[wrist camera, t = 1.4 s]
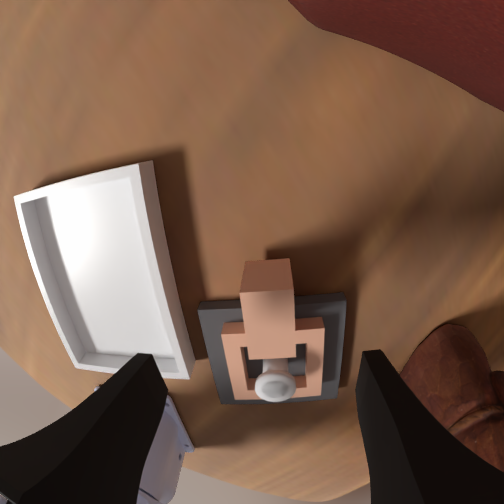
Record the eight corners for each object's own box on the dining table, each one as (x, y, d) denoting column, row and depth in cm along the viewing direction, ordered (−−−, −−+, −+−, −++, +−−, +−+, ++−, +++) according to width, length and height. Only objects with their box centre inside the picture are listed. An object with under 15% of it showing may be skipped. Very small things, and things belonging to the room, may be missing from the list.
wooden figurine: (414, 416, 23) (458, 567, 6) (361, 415, 23) (392, 594, 6) (481, 321, 19) (587, 485, 2) (429, 310, 18) (548, 528, 2)
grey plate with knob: (335, 389, 21) (342, 428, 18) (222, 395, 22) (215, 433, 18) (343, 292, 18) (358, 330, 14) (200, 301, 19) (185, 339, 15)
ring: (319, 383, 20) (324, 420, 17) (236, 387, 20) (231, 424, 17) (322, 256, 16) (333, 285, 13) (213, 263, 17) (200, 294, 13)
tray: (195, 360, 21) (189, 379, 19) (86, 353, 22) (75, 368, 20) (152, 160, 16) (138, 163, 14) (31, 190, 17) (13, 196, 15)
